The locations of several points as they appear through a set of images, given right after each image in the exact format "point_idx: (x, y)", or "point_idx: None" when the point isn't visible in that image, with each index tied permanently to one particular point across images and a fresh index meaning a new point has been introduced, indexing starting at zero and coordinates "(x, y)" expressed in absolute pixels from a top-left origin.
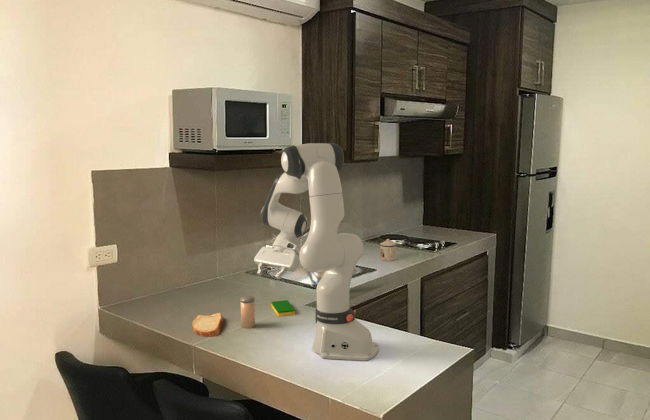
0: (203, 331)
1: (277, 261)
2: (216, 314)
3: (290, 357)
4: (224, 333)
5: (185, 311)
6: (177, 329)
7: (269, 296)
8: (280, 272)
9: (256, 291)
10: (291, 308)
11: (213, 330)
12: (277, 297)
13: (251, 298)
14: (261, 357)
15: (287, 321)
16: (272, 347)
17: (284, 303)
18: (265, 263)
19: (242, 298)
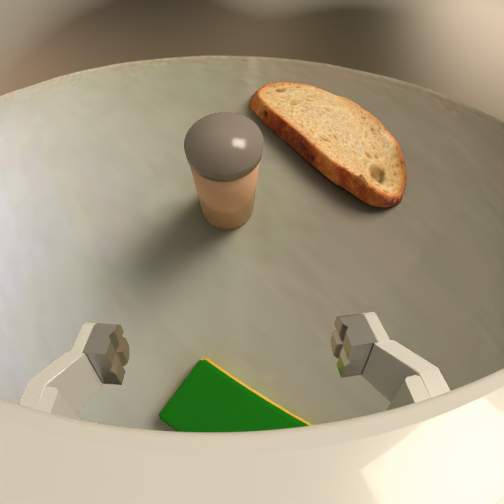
0: (281, 83)
1: (114, 480)
2: (376, 185)
3: (18, 138)
4: None
5: (474, 198)
6: (369, 94)
7: None
8: (62, 360)
9: None
10: (182, 423)
11: (258, 91)
12: None
13: (199, 149)
14: (67, 100)
15: (133, 329)
16: (65, 141)
17: None
18: (359, 417)
19: (241, 126)
